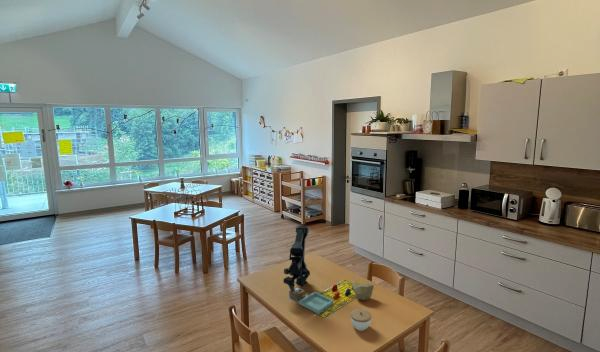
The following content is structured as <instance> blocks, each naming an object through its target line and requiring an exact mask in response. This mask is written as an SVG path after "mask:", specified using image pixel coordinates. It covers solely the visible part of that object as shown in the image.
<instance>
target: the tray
mask: <svg viewBox="0 0 600 352" xmlns="http://www.w3.org/2000/svg"><path fill="white" fill-rule="evenodd" d="M334 300H335V299H332V298H330V297H327V296H325V295H324V294H321V293H319V292H317V291H313V292H312V293H310V294H308V295H307V297H305V298H303V299H302V300H300V301H299V302H298V304H299V305H300V306H302V307H304V308H306V309H308V310H310V311H311V312H314V313H315V315H320V314H321V313H323V312H324V311H325V310H327V309H329V308H330V307H331V306H333V305H334V304H335V303H334V302H335V301H334Z"/></svg>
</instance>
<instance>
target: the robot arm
mask: <svg viewBox="0 0 600 352" xmlns="http://www.w3.org/2000/svg"><path fill="white" fill-rule="evenodd" d="M309 232H310V228H309V227H308V225H307V226H305V225H304V226H302V225H298V226H297V227H295V233H296V235H295V240H294V243H293V244H292V245H291V247H290V249H289V258H288V259H289V261H291V263H290V265H289V267H288V268H284V269H283V274H284V275H290V276H286V277H285V278H283V279H282V280H283V284H286V285H288V287H289V291H290V290H291V292H293V290H294V288H295V284H296V285H298V286H301V287H304V285H306V284H308V283H309V282H308V281H307V280H308V278H309V277H310V276H311V272H310V270H309V269H308V267H307V264H306V262H305V261H306V260H305V259H306V258H305V254H306V239H307V238H308V235H309Z"/></svg>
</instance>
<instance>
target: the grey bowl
mask: <svg viewBox="0 0 600 352" xmlns="http://www.w3.org/2000/svg"><path fill="white" fill-rule="evenodd" d="M350 290H351V291H353V292H354V295H355V297H356V299H357V300H360V301H367V300H369V299H371V297H372V295H373V290H374V284H371V283H360V282H357V281H355V282H353V283H352V285H351V288H350Z"/></svg>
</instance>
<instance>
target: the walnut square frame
mask: <svg viewBox="0 0 600 352" xmlns="http://www.w3.org/2000/svg"><path fill="white" fill-rule="evenodd" d="M296 288H299V293H296V292H295V289H296ZM288 292H289V294H288V295H289V297H291V298H293V299H295V300H297V301H298V300H302V299H303V298H305V295H306V290H305V289H302V288H300V287H299V286H296V287H295V286H294V290H293V292H291V290H290V289H289V291H288Z"/></svg>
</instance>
